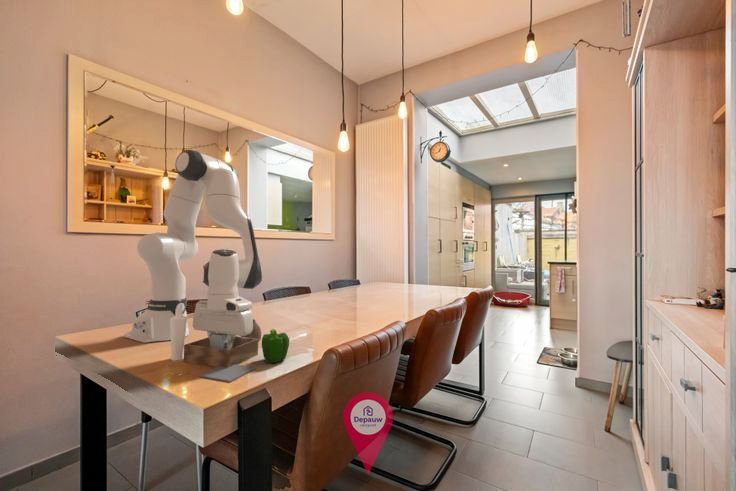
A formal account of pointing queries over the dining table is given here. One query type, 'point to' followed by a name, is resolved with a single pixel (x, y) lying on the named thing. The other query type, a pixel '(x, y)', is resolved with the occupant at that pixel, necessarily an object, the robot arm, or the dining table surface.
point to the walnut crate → (220, 352)
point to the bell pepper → (275, 346)
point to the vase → (254, 332)
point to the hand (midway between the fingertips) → (221, 346)
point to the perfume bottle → (177, 335)
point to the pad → (227, 373)
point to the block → (219, 341)
